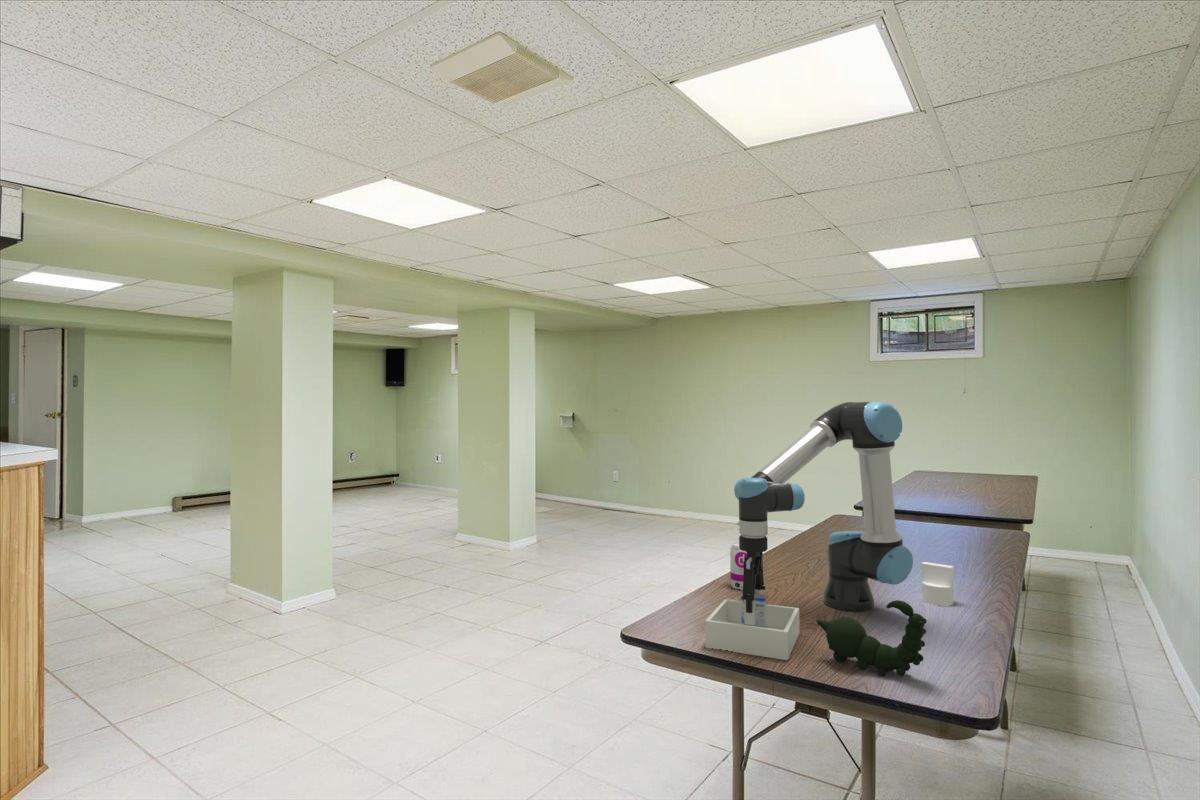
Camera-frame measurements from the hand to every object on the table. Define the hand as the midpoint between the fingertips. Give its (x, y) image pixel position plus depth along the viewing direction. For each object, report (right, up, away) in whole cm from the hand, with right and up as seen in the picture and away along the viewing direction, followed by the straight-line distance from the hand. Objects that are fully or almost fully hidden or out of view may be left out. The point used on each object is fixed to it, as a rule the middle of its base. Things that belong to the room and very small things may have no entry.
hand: (753, 618), depth 175 cm
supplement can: (+8, -7, +51) cm, 52 cm away
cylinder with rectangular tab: (+67, -6, +33) cm, 75 cm away
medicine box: (0, -2, 0) cm, 2 cm away
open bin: (0, -6, 0) cm, 6 cm away
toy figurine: (+23, -6, -19) cm, 31 cm away
